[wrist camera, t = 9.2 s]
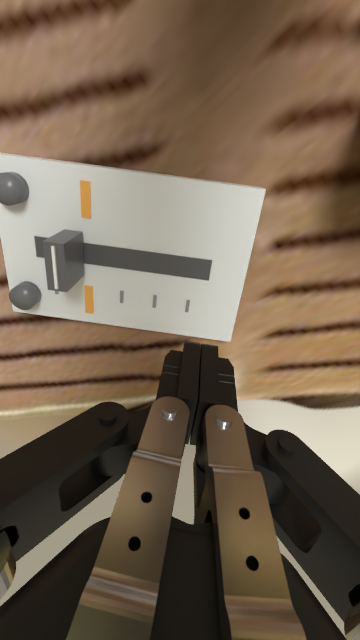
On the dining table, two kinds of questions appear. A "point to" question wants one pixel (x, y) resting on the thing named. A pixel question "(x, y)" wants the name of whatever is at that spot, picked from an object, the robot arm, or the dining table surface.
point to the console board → (129, 244)
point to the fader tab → (64, 260)
